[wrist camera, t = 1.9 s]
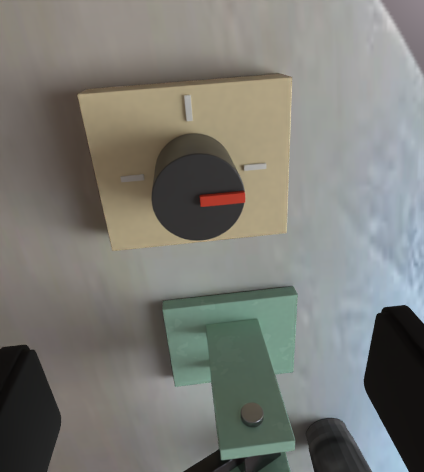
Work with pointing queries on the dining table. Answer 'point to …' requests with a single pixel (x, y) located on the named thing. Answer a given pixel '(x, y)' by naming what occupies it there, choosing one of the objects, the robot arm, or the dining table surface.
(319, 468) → the beverage cup
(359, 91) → the dining table surface
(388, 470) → the dining table surface
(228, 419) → the bracket
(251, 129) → the panel
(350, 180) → the dining table surface
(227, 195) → the knob
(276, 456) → the lever
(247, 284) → the dining table surface
